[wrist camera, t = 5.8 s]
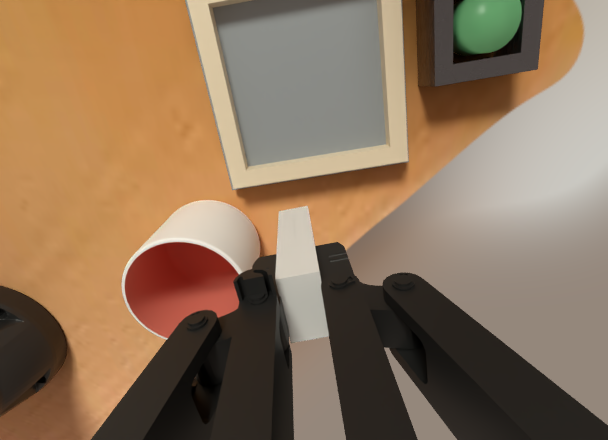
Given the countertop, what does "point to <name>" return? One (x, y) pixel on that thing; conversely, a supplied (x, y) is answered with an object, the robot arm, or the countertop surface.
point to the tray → (303, 85)
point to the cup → (190, 265)
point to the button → (484, 25)
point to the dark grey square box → (507, 60)
